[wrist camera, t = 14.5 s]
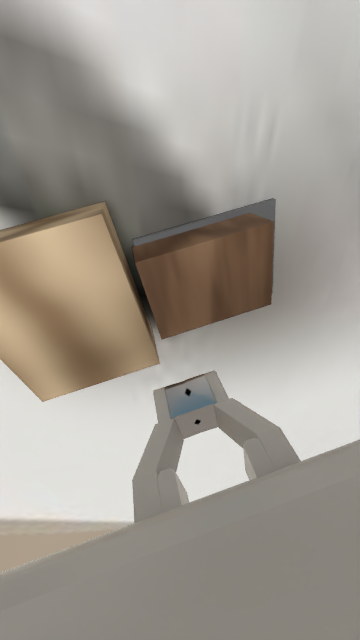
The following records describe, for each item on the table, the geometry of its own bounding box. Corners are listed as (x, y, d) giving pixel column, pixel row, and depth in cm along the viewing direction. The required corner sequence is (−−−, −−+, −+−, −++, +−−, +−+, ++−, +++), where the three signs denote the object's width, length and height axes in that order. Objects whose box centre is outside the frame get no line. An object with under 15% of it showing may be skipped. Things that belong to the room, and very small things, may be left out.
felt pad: (272, 198, 19) (275, 198, 19) (270, 291, 24) (272, 293, 24) (132, 239, 18) (132, 240, 18) (161, 326, 24) (162, 328, 23)
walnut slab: (131, 247, 18) (250, 212, 19) (155, 317, 22) (251, 286, 23) (135, 262, 15) (273, 221, 16) (161, 339, 19) (271, 304, 20)
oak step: (104, 201, 16) (101, 213, 12) (152, 329, 23) (159, 363, 19) (-38, 240, 16) (-91, 267, 12) (55, 359, 23) (42, 401, 19)
